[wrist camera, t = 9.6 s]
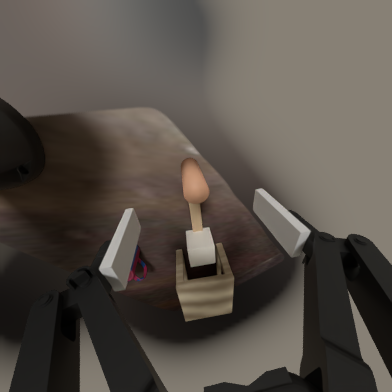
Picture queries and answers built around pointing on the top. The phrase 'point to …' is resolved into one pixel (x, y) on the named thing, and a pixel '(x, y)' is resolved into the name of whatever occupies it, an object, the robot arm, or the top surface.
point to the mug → (133, 266)
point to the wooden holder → (205, 289)
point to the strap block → (197, 215)
